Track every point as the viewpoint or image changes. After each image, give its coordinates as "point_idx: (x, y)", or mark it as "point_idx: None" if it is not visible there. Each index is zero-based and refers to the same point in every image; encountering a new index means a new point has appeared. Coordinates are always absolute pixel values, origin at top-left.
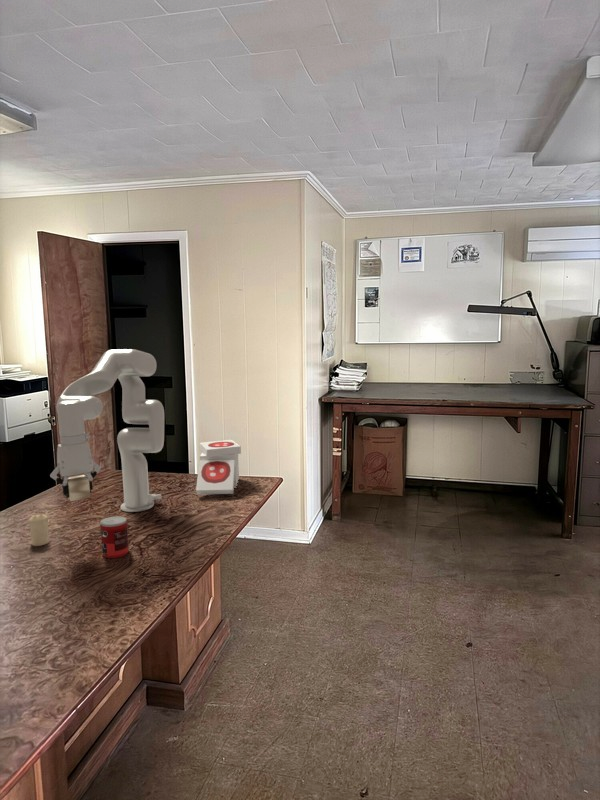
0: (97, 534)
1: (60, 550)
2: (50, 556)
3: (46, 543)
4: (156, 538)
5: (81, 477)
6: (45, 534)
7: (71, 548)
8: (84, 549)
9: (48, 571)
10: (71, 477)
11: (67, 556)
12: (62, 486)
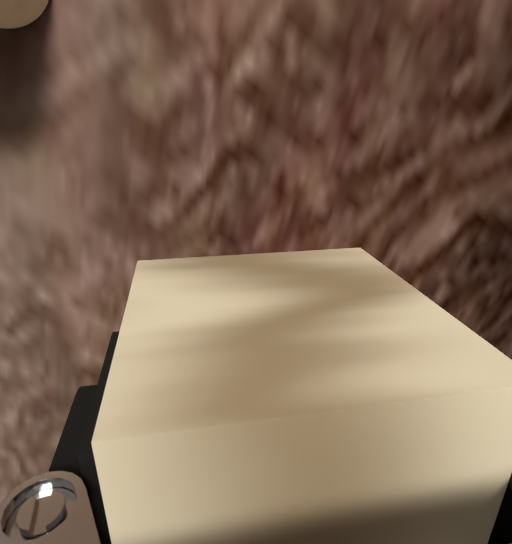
0: (310, 61)
1: (106, 175)
2: (55, 225)
3: (33, 20)
4: (470, 272)
5: (417, 527)
6: (11, 7)
7: (159, 181)
8: (210, 228)
9: (45, 373)
10: (257, 451)
11: (130, 266)
12: (51, 470)
